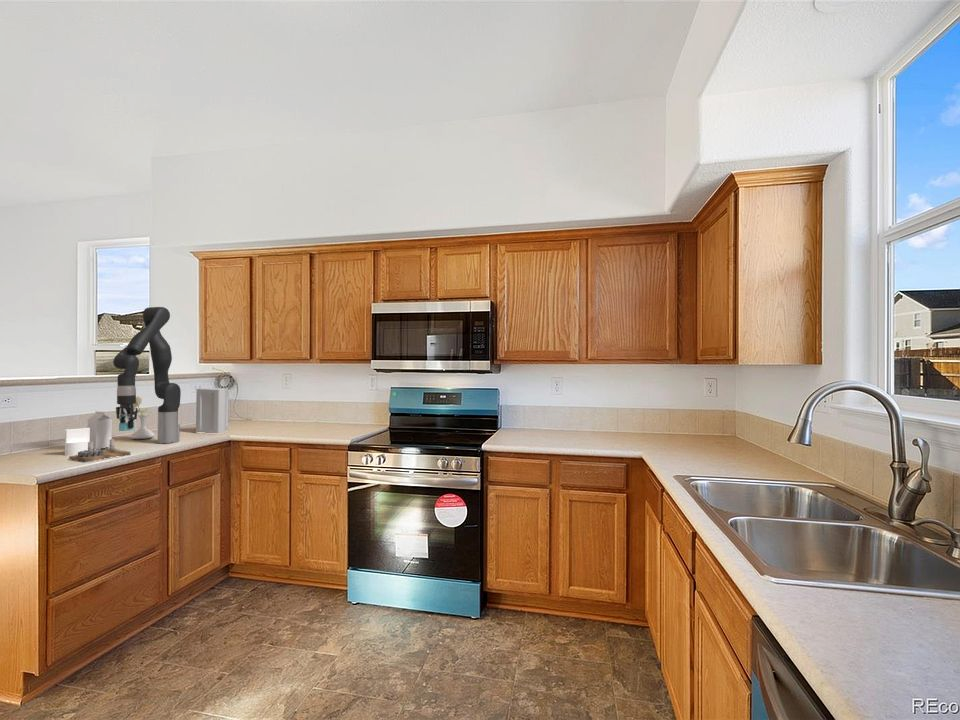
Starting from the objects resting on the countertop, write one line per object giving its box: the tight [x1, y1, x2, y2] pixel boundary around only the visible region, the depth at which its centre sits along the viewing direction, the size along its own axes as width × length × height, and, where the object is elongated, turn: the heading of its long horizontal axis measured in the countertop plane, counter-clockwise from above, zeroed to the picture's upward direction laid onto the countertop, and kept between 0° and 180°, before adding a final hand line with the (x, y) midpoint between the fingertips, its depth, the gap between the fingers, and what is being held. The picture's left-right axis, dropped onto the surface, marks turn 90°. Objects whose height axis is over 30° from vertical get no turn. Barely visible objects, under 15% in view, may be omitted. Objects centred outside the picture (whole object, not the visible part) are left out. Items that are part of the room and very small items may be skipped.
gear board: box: [68, 438, 131, 463], centre depth 210 cm, size 18×13×8 cm
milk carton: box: [87, 410, 113, 450], centre depth 232 cm, size 7×7×19 cm
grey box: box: [195, 387, 230, 433], centre depth 289 cm, size 19×15×28 cm
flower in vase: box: [130, 395, 156, 440], centre depth 262 cm, size 13×11×25 cm
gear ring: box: [118, 421, 135, 432], centre depth 226 cm, size 6×6×4 cm
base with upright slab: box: [64, 427, 90, 456], centre depth 218 cm, size 9×9×12 cm
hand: (126, 427), depth 226 cm, fingers closed on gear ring, 6 cm apart
